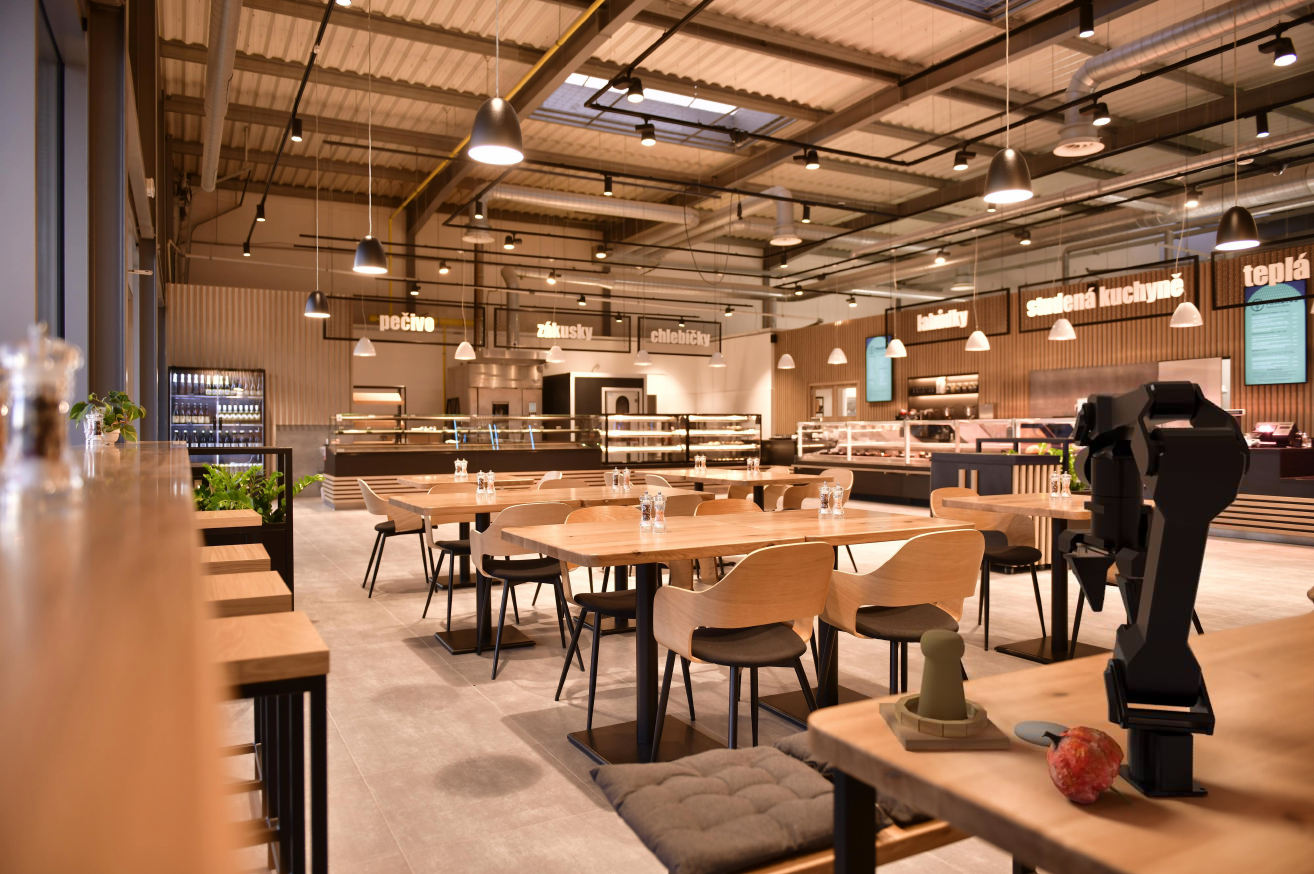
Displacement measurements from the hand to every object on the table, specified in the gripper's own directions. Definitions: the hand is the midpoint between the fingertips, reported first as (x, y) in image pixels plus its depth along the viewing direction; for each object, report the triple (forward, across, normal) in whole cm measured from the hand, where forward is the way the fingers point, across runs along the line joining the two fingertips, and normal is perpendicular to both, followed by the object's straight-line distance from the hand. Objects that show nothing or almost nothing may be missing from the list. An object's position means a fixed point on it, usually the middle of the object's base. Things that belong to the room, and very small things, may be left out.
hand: (1116, 620), depth 103 cm
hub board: (+13, -1, +22) cm, 26 cm away
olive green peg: (+12, -1, +22) cm, 25 cm away
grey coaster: (+13, -3, +10) cm, 17 cm away
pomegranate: (+13, -19, +13) cm, 27 cm away
